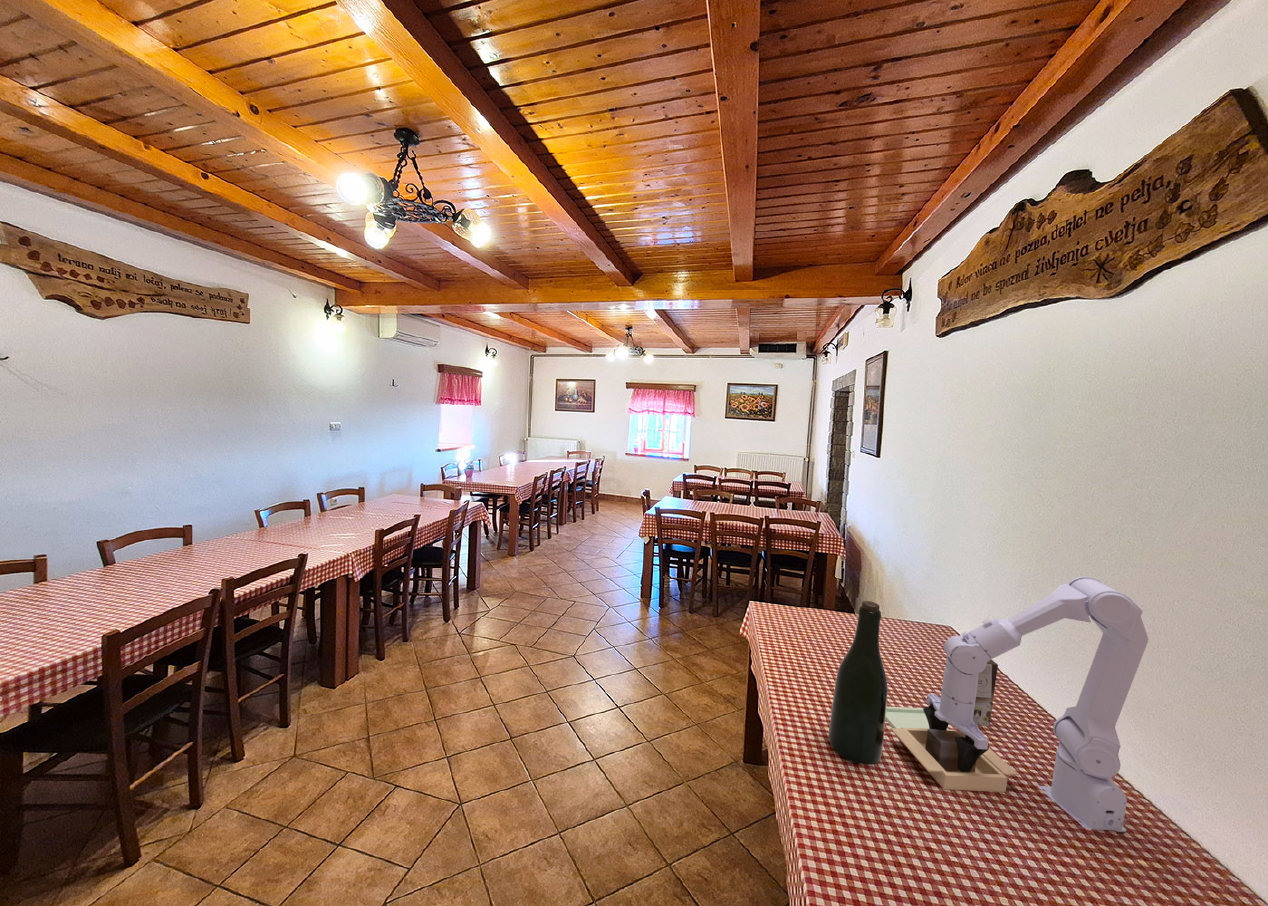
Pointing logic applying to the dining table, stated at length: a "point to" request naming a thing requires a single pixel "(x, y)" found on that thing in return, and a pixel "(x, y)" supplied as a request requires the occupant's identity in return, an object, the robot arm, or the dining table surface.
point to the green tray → (906, 717)
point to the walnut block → (944, 748)
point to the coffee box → (985, 694)
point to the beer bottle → (861, 694)
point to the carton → (983, 779)
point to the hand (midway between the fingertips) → (950, 756)
